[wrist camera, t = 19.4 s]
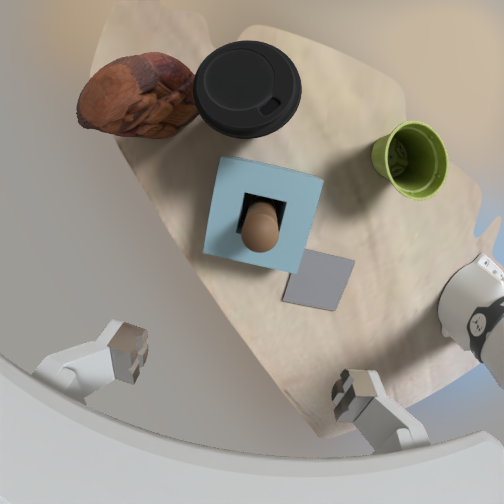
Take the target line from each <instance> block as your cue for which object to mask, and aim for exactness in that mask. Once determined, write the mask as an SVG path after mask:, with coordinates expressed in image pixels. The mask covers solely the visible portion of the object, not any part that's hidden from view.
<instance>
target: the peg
mask: <svg viewBox="0 0 504 504" xmlns="http://www.w3.org/2000/svg"><path fill="white" fill-rule="evenodd" d="M241 238H242V241H243V243H244V245H245V246H246V247H247V248H248V249H249V250H251V251H253V252H257V253H264V252H267V251H269V250H271V249H272V248H274V246H275V245H276V244H277V242H278V239H279V231H278V223H277V216H276V209H275V204H274V202H273V201H272V199H270V198H268V197H263V196H258V197H255V198H254V199H253V200H252V201H251V203H250V205H249V209H248V212H247V215H246V218H245V222H244V225H243V228H242V232H241Z"/></svg>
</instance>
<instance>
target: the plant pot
mask: <svg viewBox="0 0 504 504" xmlns="http://www.w3.org/2000/svg"><path fill="white" fill-rule="evenodd" d="M399 146H400V147H401V148H402V150H403V153H404V154H403V155H402V153H401V150H400V149H399ZM389 156H392V159H389ZM371 160H372V163H373V166H374V168H375V169H376V171H377V172H378V173H379V174H380V175H382V176H383V177H385V178H387V179H388V180H390V181H391V183H392V184H393V186H394V187H395V188H396V189H397V190H398V191H399V192H400V193H401V194H402V195H404V196H405V197H407V198H410V199H413V200H426V199H429V198H431V197H432V196H434V195H435V194H436V193H437V192H438V191H439V190H440V189H441V188H442V186H443V184H444V182H445V180H446V177H447V173H448V155H447V151H446V148H445V145H444V143H443V141H442V139H441V137H440V136H439V135H438V133H437V132H436V131H435V130H434V129H433V128H431V127H430V126H429V125H427V124H425V123H423V122H420V121H407V122H404V123H402V124H400V125H398V126H397V127H396V128H395V129H394V130H393V131H392V133H391V134H389V135H386V136H384V137H382V138H380V139H378V140H377V141H376V142H375V144H374V145H373V149H372V154H371ZM398 169H400V171H398V172H397V173H396V174H393V172H394V171H396V170H398Z"/></svg>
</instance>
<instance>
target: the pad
mask: <svg viewBox="0 0 504 504" xmlns="http://www.w3.org/2000/svg"><path fill="white" fill-rule="evenodd" d="M354 264H355V261H354V260H350V259H345V258H341V257H337V256H333V255H329V254H325V253H320V252H316V251H312V250H308V249H304V252H303V255H302V259H301V262H300V265H299V268H298V271H297V274H294V273H291V275H290V278H289V281H288V284H287V288H286V291H285V294H284V297H283V301H285V302H290V303H295V304H300V305H305V306H310V307H316V308H321V309H327V310H332V311H336V309H337V306H338V304H339V302H340V299H341V297H342V294H343V292H344V289H345V287H346V284H347V282H348V279H349V277H350V274H351V272H352V269H353V266H354Z"/></svg>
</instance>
